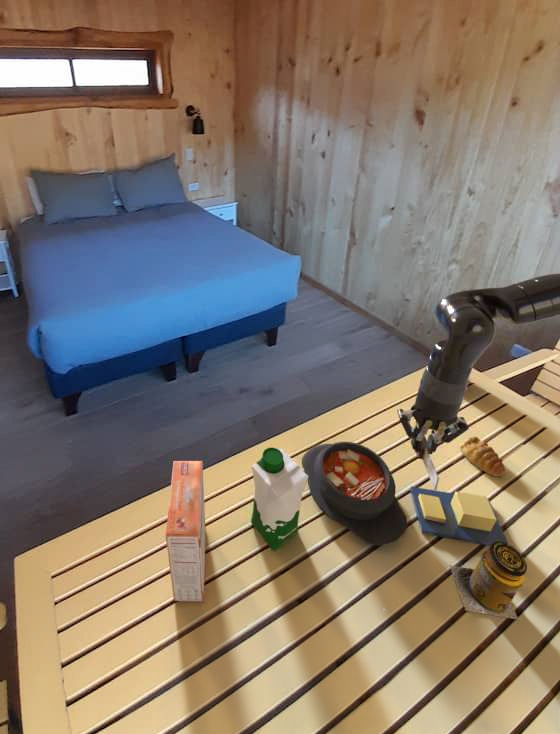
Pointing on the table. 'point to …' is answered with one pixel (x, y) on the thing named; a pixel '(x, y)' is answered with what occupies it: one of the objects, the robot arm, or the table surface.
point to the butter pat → (432, 508)
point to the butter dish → (452, 523)
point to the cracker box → (187, 531)
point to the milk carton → (277, 496)
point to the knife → (428, 462)
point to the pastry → (482, 456)
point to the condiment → (492, 581)
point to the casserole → (355, 491)
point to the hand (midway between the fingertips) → (422, 449)
